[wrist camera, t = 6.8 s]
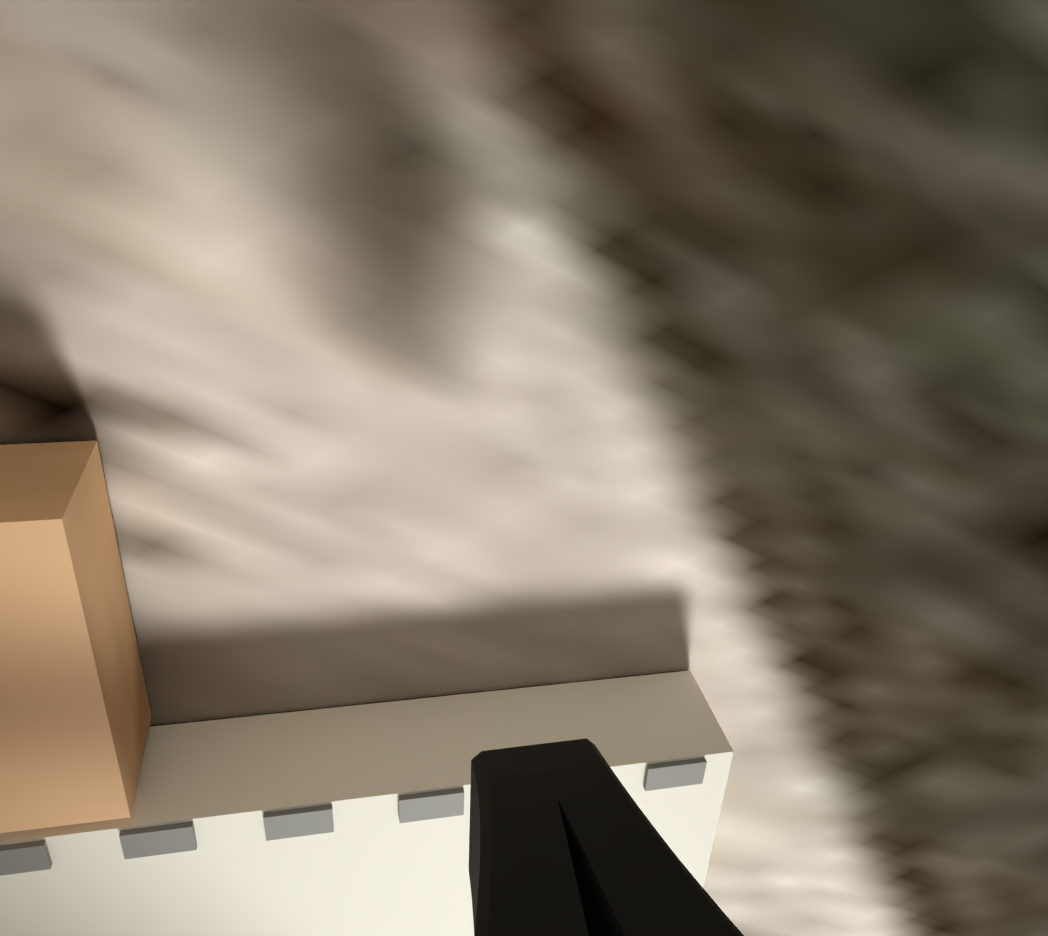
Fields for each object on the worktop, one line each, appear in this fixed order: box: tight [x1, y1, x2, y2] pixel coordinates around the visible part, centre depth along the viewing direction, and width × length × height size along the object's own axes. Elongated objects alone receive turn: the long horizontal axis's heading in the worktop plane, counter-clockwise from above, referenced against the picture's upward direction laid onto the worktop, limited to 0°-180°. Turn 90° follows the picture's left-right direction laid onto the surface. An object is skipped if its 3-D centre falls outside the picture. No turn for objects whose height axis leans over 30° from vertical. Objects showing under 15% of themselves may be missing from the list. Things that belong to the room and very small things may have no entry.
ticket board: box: [0, 671, 733, 936], centre depth 16 cm, size 8×14×2 cm, turn 87°
